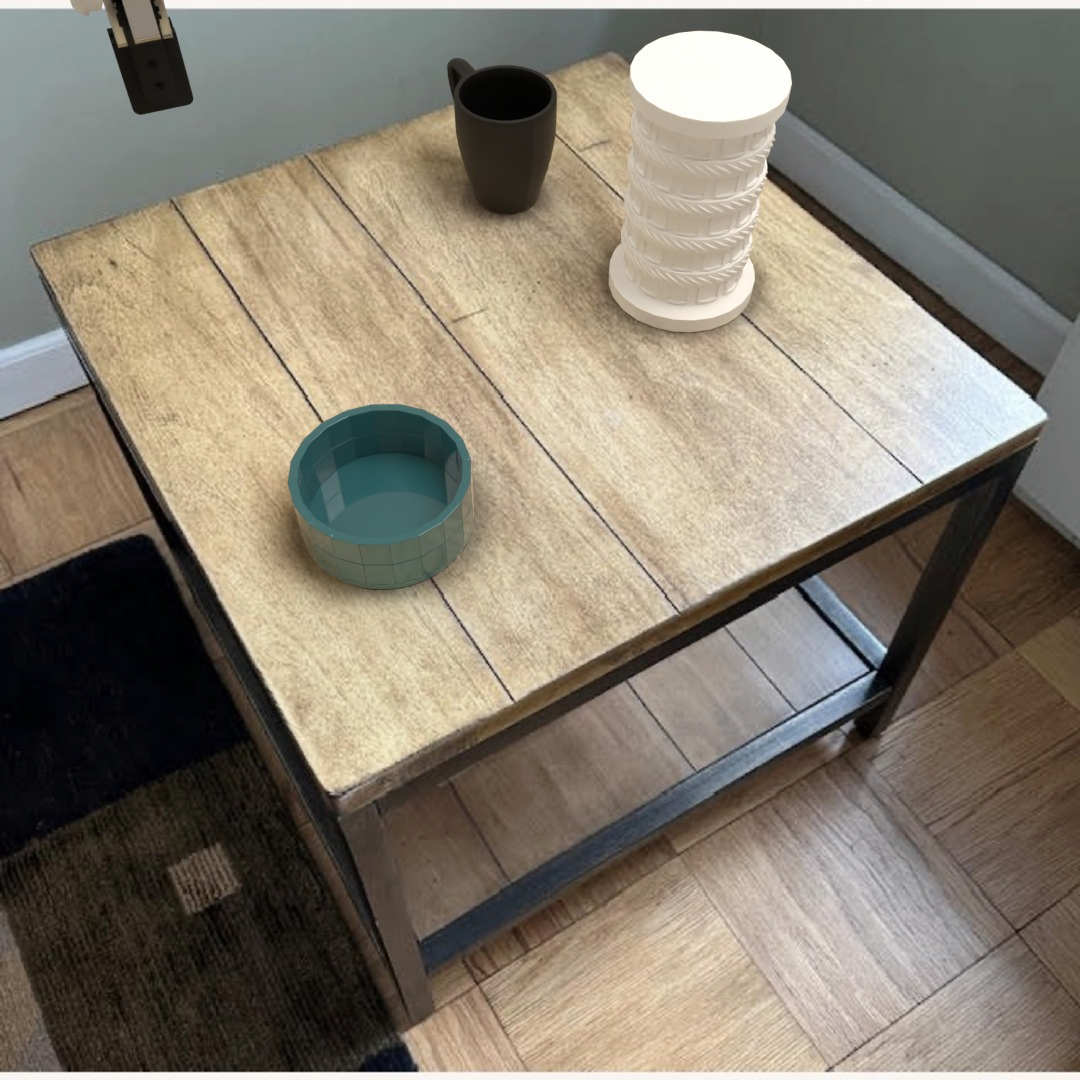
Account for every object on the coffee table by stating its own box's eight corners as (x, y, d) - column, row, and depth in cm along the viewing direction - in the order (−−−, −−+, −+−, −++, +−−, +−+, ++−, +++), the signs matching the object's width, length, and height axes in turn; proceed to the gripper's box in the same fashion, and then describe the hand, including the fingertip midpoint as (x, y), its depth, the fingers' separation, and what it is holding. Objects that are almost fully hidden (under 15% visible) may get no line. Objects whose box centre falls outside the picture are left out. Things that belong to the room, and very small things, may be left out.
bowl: (292, 590, 70) (277, 545, 66) (310, 452, 77) (298, 404, 73) (472, 588, 71) (469, 543, 67) (475, 451, 77) (472, 403, 73)
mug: (499, 132, 100) (497, 32, 92) (573, 203, 94) (577, 102, 86) (420, 162, 97) (411, 61, 89) (491, 236, 91) (488, 135, 83)
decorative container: (587, 252, 90) (598, 44, 75) (715, 223, 92) (750, 16, 78) (641, 347, 84) (665, 139, 69) (777, 313, 86) (828, 105, 71)
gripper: (-75, -362, 47) (70, 44, 62) (-42, -231, 39) (115, 199, 54) (103, -381, 49) (202, 19, 64) (169, -260, 41) (265, 165, 56)
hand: (162, 101), depth 59 cm, fingers closed
